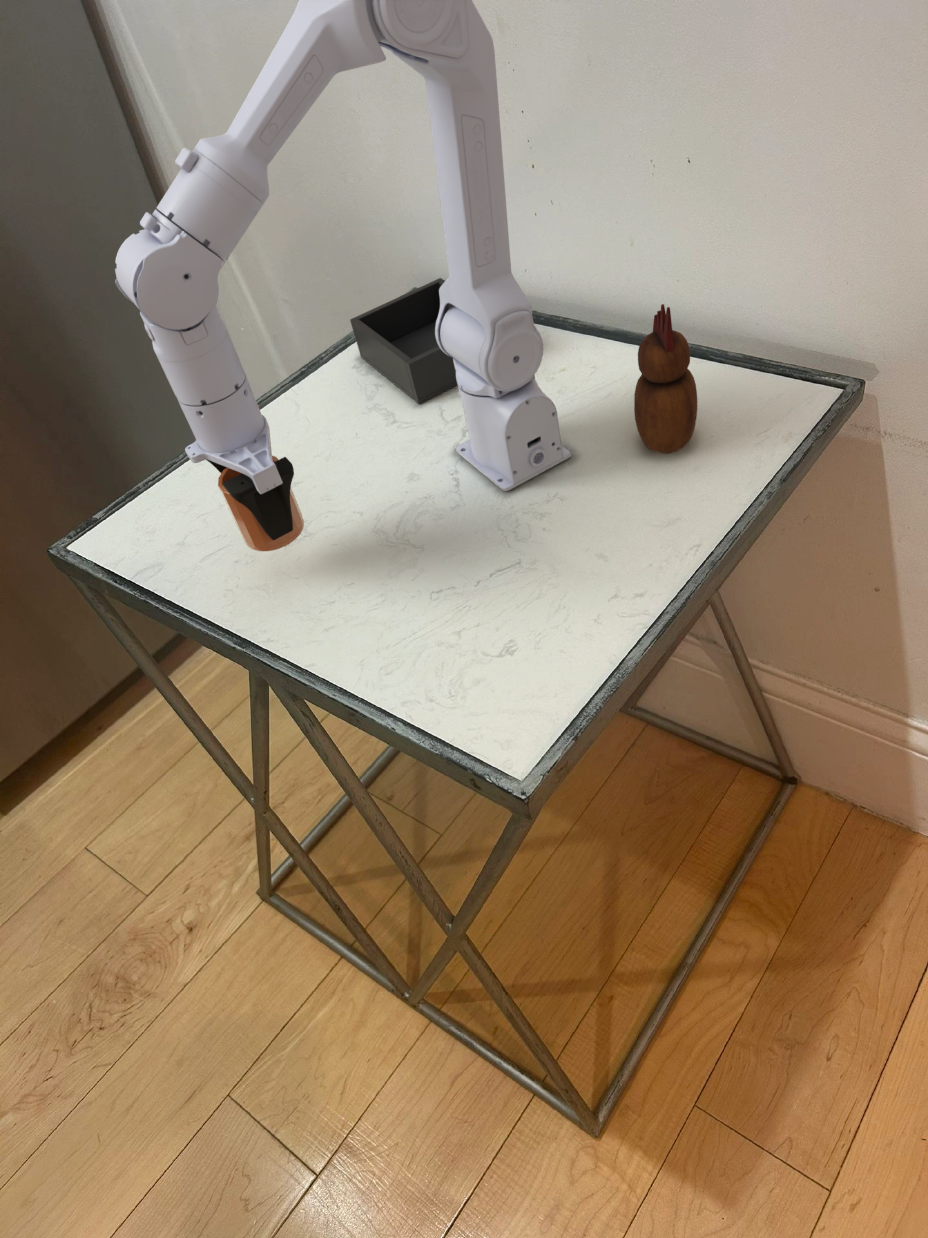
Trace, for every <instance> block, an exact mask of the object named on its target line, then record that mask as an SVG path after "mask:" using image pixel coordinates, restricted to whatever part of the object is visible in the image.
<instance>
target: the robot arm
mask: <svg viewBox="0 0 928 1238" xmlns="http://www.w3.org/2000/svg"><path fill="white" fill-rule="evenodd" d="M492 37H493V36H492V35H491V32H490V31H489V29H488V27H487V25H486V24H485V22H484V20H483V18H482V16H481V14H480V12H479V10H478V9H477V6H476V5H475V3H474V1H473V0H298V2H297V4H296V7H295V9H294V12H293V14H292V16H291V18H290V19H289V21H288V22H287V24H286V26H285V28H284V30H283V31H282V34H281V35H280V37H279V38H278V41H277V42H276V43H275V46H274V48H273V50H272V51H271V53H270V55H269V56H268V58H267V60H266V62H265V64H264V65H263V67H262V69H261V71H260V72H259V74H258V76H257V77H256V80H255V81H254V83H253V85H252V87H251V88H250V90H249V92H248V94H247V96H246V97H245V99H244V100H243V102H242V104H241V106H240V108H239V110H238V111H237V113H236V115H235V117H234V118H233V120H232V122H231V123H230V125H229V127H228V129H227V131H226V132H225V133H223V134H219V135H215V136H209V137H202V138H200V139H199V140H198V142H197V143H196V145H195V146H194V148H193V150H190V149H189V148H187V147H183V148H182V149H181V151H180V152H179V154H178V155H177V157H176V159H175V160H174V163H175V165H176V166H177V167H179V168H180V170H179V172H177V174H176V176H175V178H174V180H173V181H172V182H171V184H170V186H169V187H168V189H167V190H166V191H165V193H164V195H163V196H162V198H161V200H160V201H159V203H158V204H157V206H156V208H155V209H154V211H153V212H152V213H149V212H148V211H146V212H145V213H144V215H143V216H142V218H141V219H140V221H139V225H140V226H141V227H142V228H143V229H141V230H138V233H136V234H135V233H132V234H130V235H129V236H128V237H127V238H126V239H125V240H124V241H123V242H122V244H121V245H120V247H119V249H118V250H117V253H116V257H115V262H114V263H115V264H116V267H115V268H114V273H115V277H116V279H115V281H114V283H115V285H116V287H117V289H118V290H119V291H120V293H121V294H122V295H123V296H124V297H125V298H126V299H127V300H128V301H130V302H131V303H133V304H134V305H135V307H136V308H137V309H138V310H139V315H140V318H141V320H142V322H143V325H144V330H145V332H146V334H147V335H148V337H149V339H150V340H151V344H152V350H153V352H154V353H155V356H156V358H157V359H158V362H159V364H160V366H161V368H162V370H163V372H164V375H165V377H166V379H167V381H168V383H169V386H170V387H171V390H172V392H173V394H174V396H175V398H176V399H177V402H178V404H179V406H180V408H181V410H182V413H183V414H184V417H185V419H186V421H187V423H188V426H189V427H190V429H191V432H192V434H193V436H194V438H195V441H194V442H193V443H191V444H189V445H187V446H186V447H185V448H184V451H185V453H186V456H187V457H188V459H189V460H190V461H191V463H194V464H199V463H201V462H203V461H207V462H208V463H209V464H211V465H212V466H213V467H214V468H215V469H216V470H217V471H218V472H219V474H221V473H222V472H223V470H224V469H225V468H230V469H232V470H235V471H237V472H240V473H242V474H240V475H238V476H236V477H234V478H232V479H230V480H228V481H226V482H224V483H223V485H224V487H225V489H226V490H227V491H228V493H229V494H230V495H231V496H232V497H233V498H234V499H235V500H237V501H238V502H239V503H241V504H243V505H244V506H245V507H247V508H248V509H249V510H250V511H251V512H252V514H253V515H254V517H255V518H256V520H257V521H258V523H259V524H260V526H261V527H262V528H263V530H264V531H265V532H266V534H267V535H268V536H269V537H270V538H271V539H272V540H276V539H278V538H280V537H281V536H283V535H285V534H287V533H289V532H291V531H293V520H292V512H291V504H290V488H291V489H292V482H293V478H294V476H295V469H294V465H293V463H292V462H291V461H290V460H289V458H288V457H286V456H283V457H281V458H278V460H277V461H275V462H273V460H272V456H273V453H272V442H271V440H272V439H271V430H270V425H269V422H268V420H267V418H266V417H265V415H263V414H262V412H261V409H260V407H259V404H258V401H257V399H256V397H255V394H254V392H253V389H252V387H251V385H250V382H249V380H248V377H247V374H246V373H245V370H244V367H243V365H242V362H241V360H240V358H239V356H238V353H237V350H236V348H235V347H236V346H235V345H234V342H233V340H232V338H231V335H230V333H229V330H228V327H227V325H226V323H225V321H224V320H223V319H222V317H221V315H220V313H219V309H218V308H217V303H218V299H219V291H220V290H219V279H218V277H219V274H220V271H221V270H222V268H223V267H224V265H225V264H226V261H228V259H229V258H230V256H231V255H232V253H233V252H234V250H235V249H236V247H237V246H238V244H239V243H240V241H241V239H242V238H243V236H244V235H245V233H246V232H247V230H248V229H249V227H250V226H251V224H252V223H253V221H254V220H255V218H256V216H257V215H258V214H259V212H260V210H261V209H262V207H264V204H265V203H266V201H267V200H268V198H269V197H270V184H269V176H268V166H269V164H270V163H271V162H272V161H273V159H274V158H275V156H276V155H277V154H278V153H279V151H280V150H281V149H282V147H283V146H284V145H285V143H286V142H287V140H288V139H289V138H290V136H291V135H292V133H294V131H295V129H296V128H297V127H298V125H300V123H301V121H302V120H303V119H304V117H305V116H306V115H307V113H308V112H309V111H310V109H311V107H312V106H313V105H314V104H315V103H316V101H317V99H318V98H319V97H320V95H321V94H322V93H323V92H324V90H325V89H326V87H327V86H328V85H329V84H330V82H331V81H332V79H333V78H334V77H335V76H336V75H337V74H339V73H343V72H347V71H351V70H355V69H358V68H363V67H368V66H371V65H375V64H380V63H383V62H385V61H386V60H387V56H386V55H385V53H384V51H383V49H382V48H384V49H386V50H387V51H388V50H389V51H390V52H391V53H392V54H393V55H394V56H396V58H398V59H399V60H401V61H402V62H404V63H405V64H406V65H408V66H409V67H410V68H411V69H413V70H414V71H415V72H417V73H418V74H420V76H422V77H423V79H424V81H425V87H426V97H427V104H428V105H427V106H428V113H429V120H430V129H431V130H430V131H431V136H432V137H431V138H432V146H433V153H434V155H433V156H434V162H435V170H436V179H437V187H438V195H439V202H440V211H441V219H442V226H443V227H442V228H443V236H444V243H445V245H444V246H445V252H446V260H447V268H448V277H447V279H446V280H445V282H444V283H443V284H442V286H441V287H440V289H439V296H440V310H439V314H438V317H437V321H436V326H435V336H436V341H437V344H438V345H439V347H440V349H441V350H442V351H443V352H444V353H445V354H446V355H448V356H450V357H452V358H453V361H454V366H455V370H456V380H457V384H458V385H457V389H458V393H459V397H460V402H461V407H462V411H463V416H464V421H465V425H466V428H467V429H466V430H467V435H468V439H469V440H467V441H465V442H463V443H461V444H459V445H458V446H456V447H455V448H456V449H455V450H456V453H457V454H459V455H460V456H461V458H463V459H464V460H466V461H467V462H468V463H469V464H470V465H471V466H472V467H474V468H475V469H477V471H479V472H480V473H481V474H482V475H483V476H484V477H486V478H487V479H488V480H490V481H491V482H492V483H493V484H494V485H496V486H497V488H499V489H500V490H502V491H504V492H509V491H510V490H512V489H515V488H516V487H518V486H520V485H522V484H524V483H525V482H527V481H529V480H532V479H533V478H534V477H536V476H538V475H541V474H542V473H544V472H546V471H547V470H550V469H551V468H554V467H555V466H557V465H559V464H561V463H563V462H564V461H566V460H568V459H570V458H571V455H572V454H571V451H570V450H569V449H568V448H566V447H564V446H563V444H562V439H561V431H560V423H559V416H558V410H557V407H556V404H555V403H554V402H553V400H552V399H551V398H550V397H549V396H548V395H547V394H545V392H543V390H542V389H541V388H540V386H539V384H538V382H537V380H536V376H535V375H536V373H537V372H538V370H539V368H540V366H541V364H542V361H543V356H544V342H543V338H542V335H541V333H540V331H539V330H538V328H537V327H536V324H535V322H534V318H533V317H534V316H533V306H532V304H531V303H530V301H529V299H528V297H527V296H526V294H525V293H524V291H523V290H522V288H521V286H520V285H519V283H518V281H517V280H516V278H515V277H514V275H513V273H512V263H511V262H512V261H511V252H510V251H511V249H510V248H511V247H510V237H509V224H508V210H507V198H506V195H507V194H506V185H505V171H504V157H503V145H502V131H501V120H500V118H501V117H500V104H499V93H498V80H497V79H498V78H497V65H496V52H495V45H494V40H493V38H492Z"/></svg>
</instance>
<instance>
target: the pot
mask: <svg viewBox="0 0 928 1238" xmlns="http://www.w3.org/2000/svg"><path fill="white" fill-rule="evenodd" d="M272 460H273V462H275V461H277V460H279V458H278V457H277V456H275V455H272ZM240 474H242V473H240V472H237V471H235V470H232V469H230V468H225V469H224V470H223V472H222V473H220V474H219V476H218V479H217V486H218V489H219V491H220V494H221V496H222V497H223V500H224V502H225V505H226V506H227V508H228V510H229V512H230V515H231V516H232V519H233V520H234V523H235V526H236V527H237V529H238V532H239V533H240V535H241V538H242V539H243V541H244V543H245V545H246V546H247V547H248V548H250V549H251V550H253V551H256V552H272V551H276V550H280V549H282V548H284V547H287V546H288V545H290V544H292V543H293V542H294V541H295V540H296V539H297V538H298V537H299V536H300V535H301V534H302V532H303V530H304V526H305V519H304V517H303V514H302V511H301V509H300V506H299V504H298V501H297V499H296V496H295V494H294V491H293V489H292V487H291V488H290V504H291V512H292V520H293V531H291V532H289V533H287V534H285V535H283V536H281V537H280V538H278V539H276V540H272V539H271V538H270V537H269V536H268V535H267V534H266V532H265V531H264V530H263V528H262V527H261V526H260V524H259V523H258V521H257V520H256V518H255V517H254V515H253V514H252V512H251V511H250V510H249V509H248V508H247V507H245V506H244V505H243V504H241V503H239V502H238V501H237V500H235V499H234V498H233V497H232V496H231V495H230V494H229V493H228V491H227V490H226V489H225V487H224V485H223V483H224V482H226V481H228V480H230V479H232V478H234V477H236V476H238V475H240Z"/></svg>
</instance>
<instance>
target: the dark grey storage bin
mask: <svg viewBox="0 0 928 1238" xmlns="http://www.w3.org/2000/svg"><path fill="white" fill-rule="evenodd" d="M445 281H446V280H445V279H443V278H441V277H439V278H437V279H435V280H433V281H430V282H428V283H426V284H424V285H422V286H419V287H418V288H416V289H413V290H411V291H409V292H407V293H404V294H403V295H400V296H397V297H396V298H394V299H391V300H389V301H387V302H385V303H383V304H381V305H379V306H376V307H373V308H372V309H370V310H368V311H366V312H363V313H361V314H359V315H357V316H355V317H352V318H350V319H349V321H350V324H351V328H352V331H353V335H354V338H355V342H356V345H357V348H358V352H359V356H360V358H361V360H363V361H364V362H366V363H367V364H368V365H369V366H370V367H372V368H373V369H374V370H376V371H377V372H378V373H379V374H381V376H383V377H384V378H386V380H388V381H389V382H390V383H391V384H393V385H394V386H395V387H397V388H398V389H399V390H400V391H401V392H403V393H404V394H405V395H407V396H408V397H409V398H410V399H411V400H413V401H414V402H415V403H416V404H418V405H421V404H423V403H425V402H427V401H429V400H431V399H433V398H436V397H437V396H439V395H442V394H443V393H446V392H447V391H449V390H451V389H453V388H456V387H458V384H457V380H456V370H455V366H454V361H453V358H452V357H450V356H448V355H446V354H445V353H444V352H443V351H442V350H441V349H440V347H439V345H438V344H437V341H436V336H435V326H436V321H437V317H438V314H439V310H440V296H439V289H440V287H441V286H442V284H443V283H444V282H445Z"/></svg>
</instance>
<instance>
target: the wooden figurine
mask: <svg viewBox="0 0 928 1238" xmlns="http://www.w3.org/2000/svg"><path fill="white" fill-rule="evenodd" d="M652 323H653V324H652V332H650V333H648V334H647V335H646V336H645V337H644V338H643V339H642V341H640V344H639V346H638V350H637V366H638V370H639V372H640V374H641V375H640V376H639V377H638V379H637V382H636V385H635V389H634V395H633V398H634V399H633V401H634V402H633V404H634V405H633V412H634V422H635V426H636V430H637V432H638V435H639V437H640V439H641V441H642V443H643V445H644V446H645V447H646V448H647V449H648V450H650V451H652V452H654V453H655V452H656V453H660V454H672V453H676V452H678V451H679V450H681V449H682V448H684V447H686V446H687V445H688V443H689V442H690V441H691V440H692V437H693V435H694V431H695V427H696V423H697V417H698V392H697V384H696V381H695V377H694V375H693V374H692V371H691V370H690V369H688V368H689V366H690V363H691V349H690V347H689V343H688V339H687V338H686V337H685V336H684V335H683V334H682V333H681V332H679V331H677V330H673V324H672V314H671V307H670V306H668V307H665V304H664V303H663V304H660V310H657V312H656V314H654V315H653V322H652Z"/></svg>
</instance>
